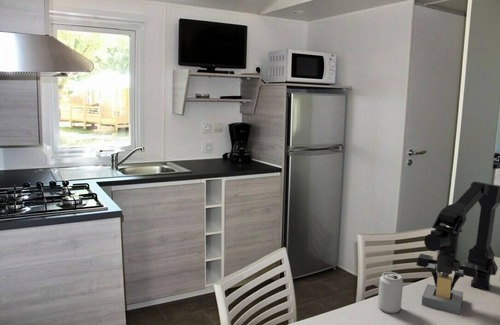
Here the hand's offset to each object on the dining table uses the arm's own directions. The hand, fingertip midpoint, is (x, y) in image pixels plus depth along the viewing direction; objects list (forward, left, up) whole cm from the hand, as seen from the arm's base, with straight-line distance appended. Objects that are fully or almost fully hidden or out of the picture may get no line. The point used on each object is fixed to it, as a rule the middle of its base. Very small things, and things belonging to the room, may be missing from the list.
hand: (443, 288), depth 154 cm
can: (+15, -15, -5) cm, 22 cm away
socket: (0, 0, -5) cm, 5 cm away
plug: (0, 0, -2) cm, 2 cm away
